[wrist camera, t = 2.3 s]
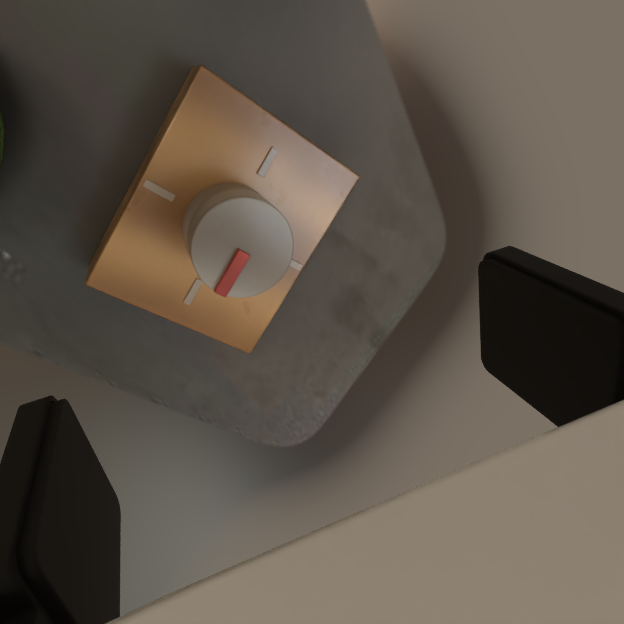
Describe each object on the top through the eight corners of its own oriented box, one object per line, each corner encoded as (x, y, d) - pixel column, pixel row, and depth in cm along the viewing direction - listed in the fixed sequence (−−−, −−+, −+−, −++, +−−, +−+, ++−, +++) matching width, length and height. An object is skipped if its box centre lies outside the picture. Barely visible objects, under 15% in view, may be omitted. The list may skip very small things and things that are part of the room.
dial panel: (192, 65, 24) (201, 63, 21) (338, 167, 28) (362, 177, 25) (88, 264, 26) (84, 286, 23) (239, 330, 30) (251, 356, 27)
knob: (211, 163, 23) (225, 177, 19) (290, 211, 25) (315, 231, 21) (165, 246, 23) (171, 273, 20) (245, 286, 26) (262, 316, 22)
